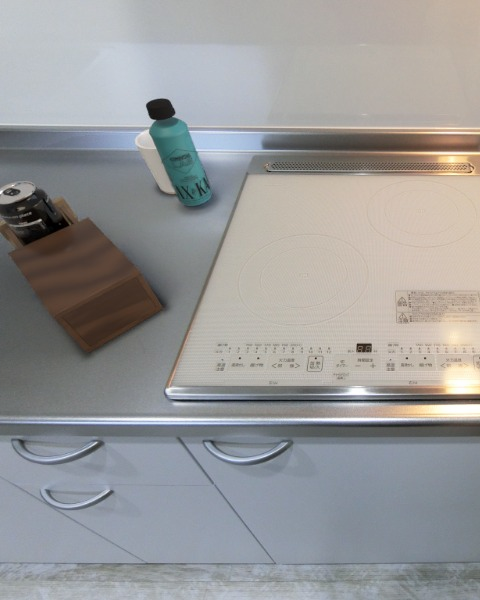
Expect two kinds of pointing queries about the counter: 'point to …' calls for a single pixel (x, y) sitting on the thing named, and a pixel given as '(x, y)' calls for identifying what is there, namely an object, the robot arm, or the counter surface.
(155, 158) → the mug
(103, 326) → the cabinet
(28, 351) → the counter surface
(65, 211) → the drawer
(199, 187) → the beverage bottle
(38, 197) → the beverage can
